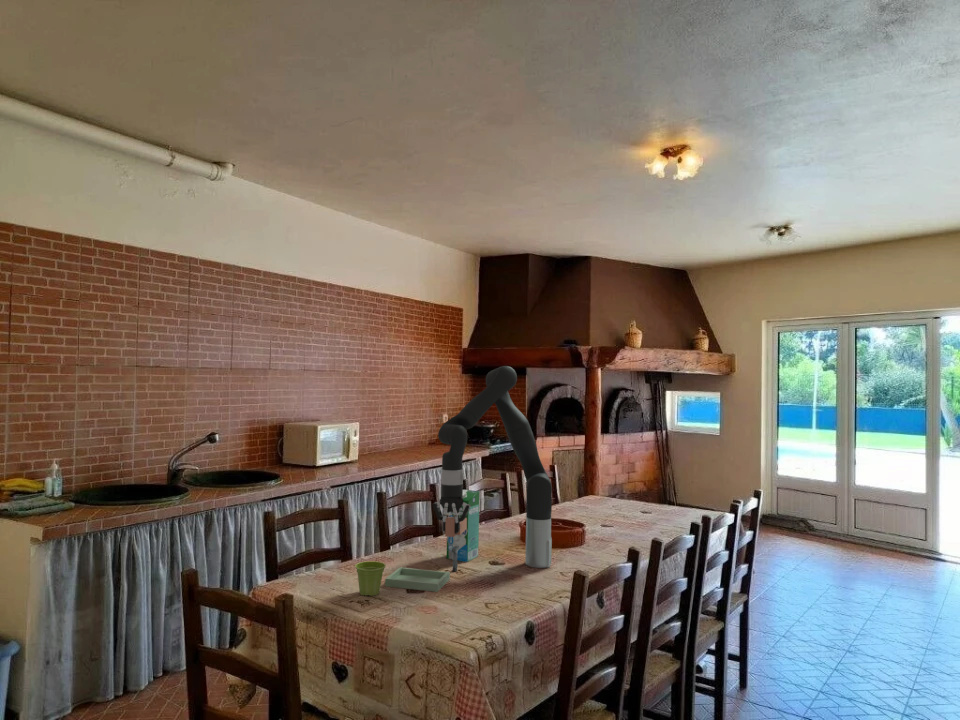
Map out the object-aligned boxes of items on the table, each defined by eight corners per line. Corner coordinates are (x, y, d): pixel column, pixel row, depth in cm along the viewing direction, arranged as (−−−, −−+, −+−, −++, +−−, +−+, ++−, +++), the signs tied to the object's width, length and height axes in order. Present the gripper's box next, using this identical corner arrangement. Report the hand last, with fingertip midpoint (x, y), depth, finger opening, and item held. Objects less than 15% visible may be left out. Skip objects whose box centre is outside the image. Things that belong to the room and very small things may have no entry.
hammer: (458, 569, 221) (459, 546, 221) (455, 573, 216) (455, 549, 216) (454, 568, 221) (455, 545, 221) (450, 572, 216) (451, 549, 217)
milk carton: (446, 558, 234) (447, 492, 234) (458, 552, 242) (459, 488, 242) (467, 562, 229) (468, 494, 230) (478, 556, 237) (479, 490, 238)
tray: (449, 579, 209) (449, 572, 209) (437, 591, 196) (437, 584, 196) (399, 574, 213) (400, 567, 213) (385, 586, 201) (385, 578, 201)
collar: (451, 528, 223) (452, 511, 223) (466, 529, 222) (466, 512, 222) (441, 536, 211) (441, 518, 212) (457, 537, 210) (457, 519, 210)
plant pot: (371, 586, 201) (371, 559, 201) (391, 592, 195) (391, 565, 195) (348, 593, 193) (349, 565, 194) (368, 600, 187) (368, 571, 188)
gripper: (474, 481, 215) (473, 531, 215) (435, 479, 219) (435, 528, 218) (468, 485, 208) (468, 536, 208) (429, 483, 211) (428, 533, 211)
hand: (451, 532), depth 213 cm, fingers closed on collar, 3 cm apart
